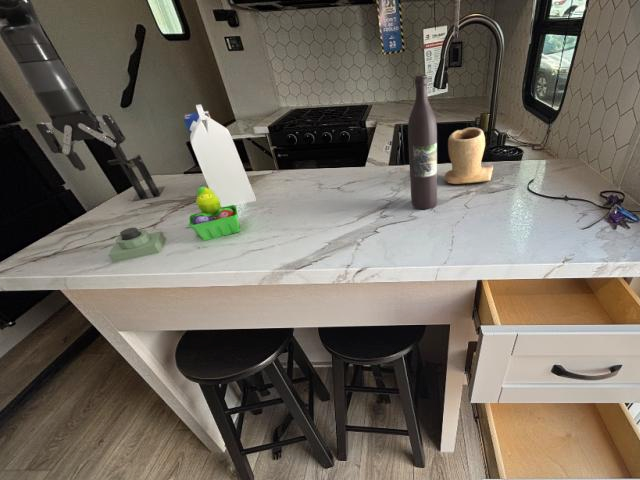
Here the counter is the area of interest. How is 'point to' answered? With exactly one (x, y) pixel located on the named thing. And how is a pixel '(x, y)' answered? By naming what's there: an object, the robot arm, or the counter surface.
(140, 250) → the control block
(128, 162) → the lever
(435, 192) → the wine bottle
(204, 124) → the milk
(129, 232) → the button
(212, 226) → the fruit basket
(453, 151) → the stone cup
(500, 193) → the counter surface
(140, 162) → the bracket
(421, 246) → the counter surface
